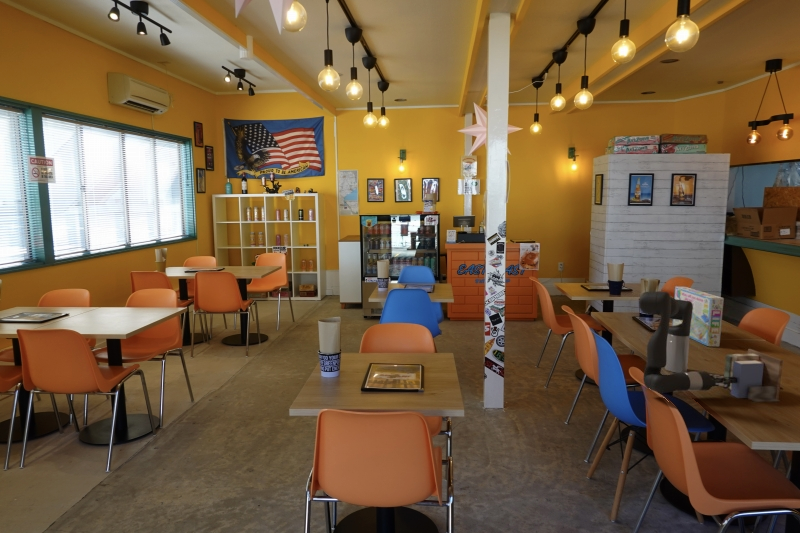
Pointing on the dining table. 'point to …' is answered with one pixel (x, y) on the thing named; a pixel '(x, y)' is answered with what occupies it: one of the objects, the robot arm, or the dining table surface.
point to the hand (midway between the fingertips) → (735, 379)
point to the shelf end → (769, 378)
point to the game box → (702, 315)
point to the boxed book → (746, 377)
